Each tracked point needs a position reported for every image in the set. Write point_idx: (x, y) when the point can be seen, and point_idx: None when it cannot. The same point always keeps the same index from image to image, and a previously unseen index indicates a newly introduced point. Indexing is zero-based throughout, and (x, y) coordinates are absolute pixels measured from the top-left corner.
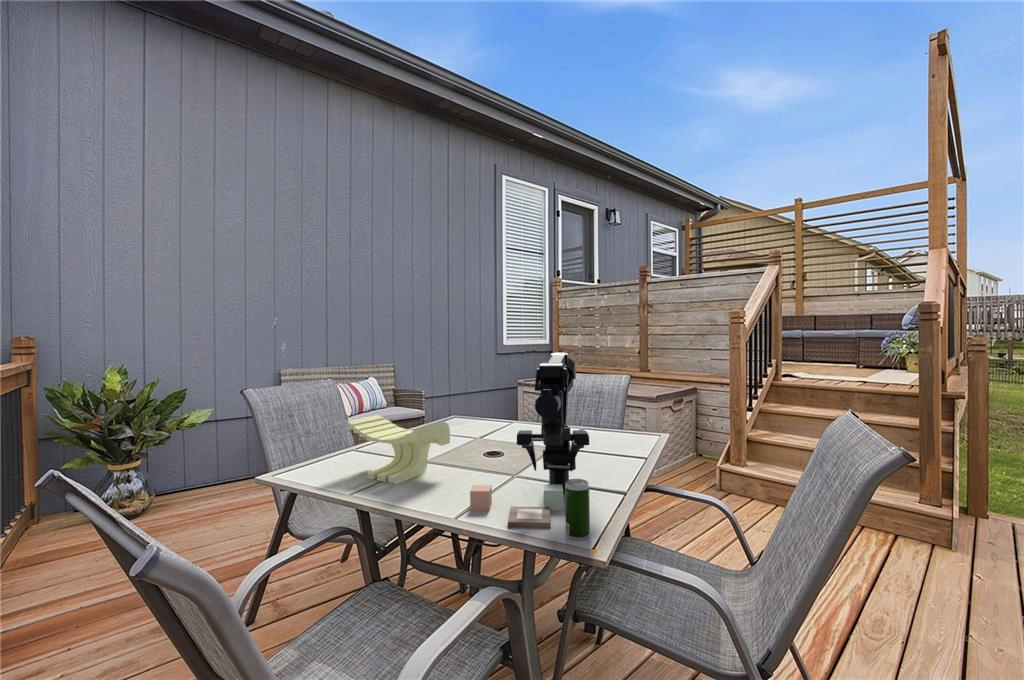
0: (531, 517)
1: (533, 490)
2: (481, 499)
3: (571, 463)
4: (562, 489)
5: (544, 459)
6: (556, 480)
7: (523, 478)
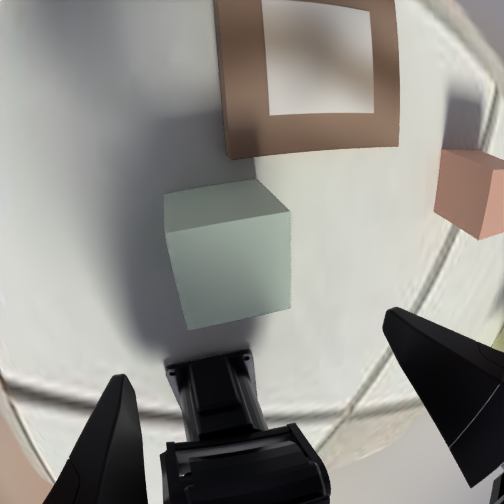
0: (311, 14)
1: (302, 354)
2: (485, 159)
3: (104, 421)
4: (172, 255)
5: (310, 457)
6: (229, 391)
7: (326, 411)
